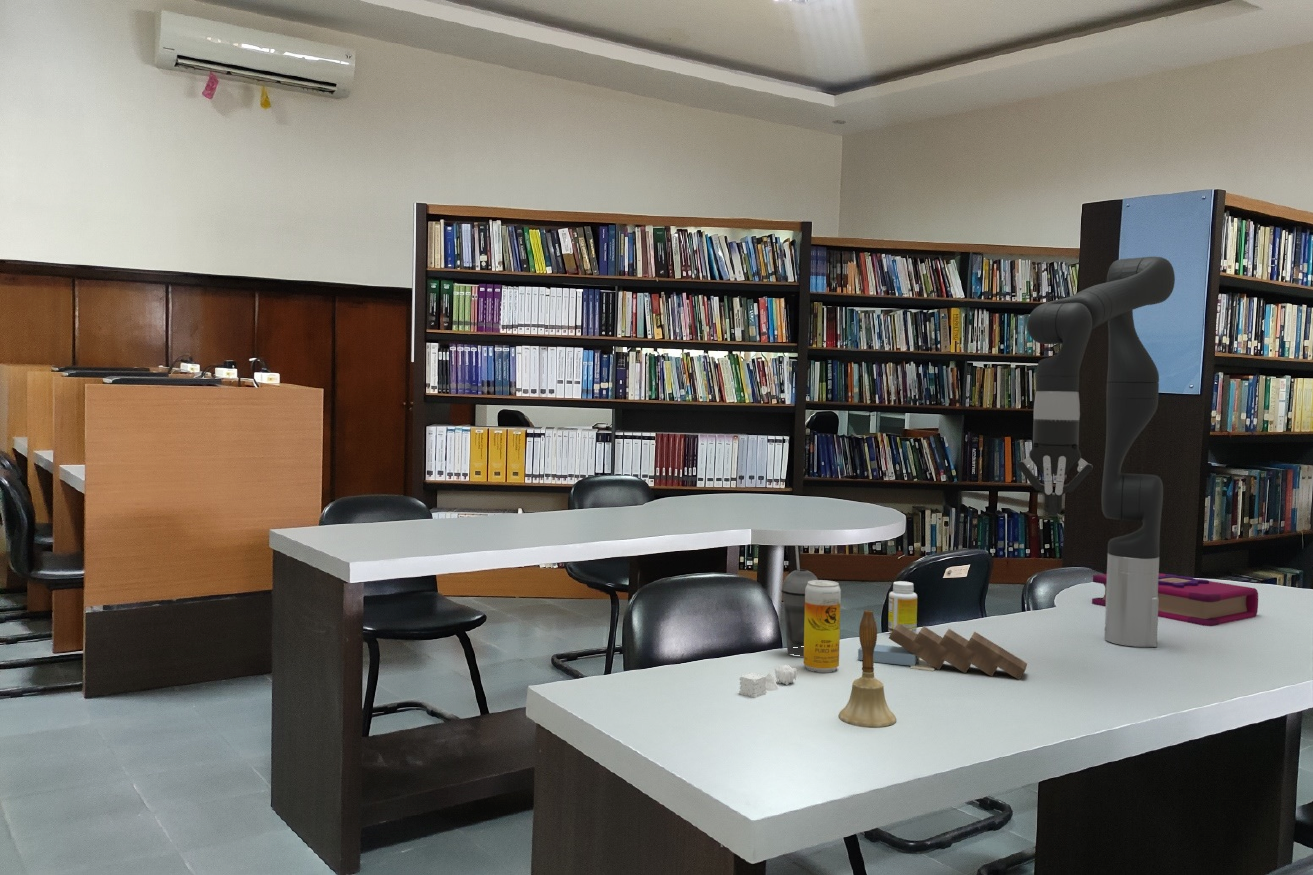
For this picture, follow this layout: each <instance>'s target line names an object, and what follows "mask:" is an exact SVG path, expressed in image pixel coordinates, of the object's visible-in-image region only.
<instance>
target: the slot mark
mask: <svg viewBox="0 0 1313 875" xmlns="http://www.w3.org/2000/svg"><path fill="white" fill-rule="evenodd" d="M910 669H915V670H922V671H923V670H924V671H929V672H934V671H935V669H936V668H935V667H934V666H932V665H930V664H929V663H927V662H926V661H924V660H922V659H921V658H920V660H919V661H918V662H917V664H916V665H915V666H910Z"/></svg>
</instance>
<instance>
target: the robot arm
mask: <svg viewBox="0 0 1313 875" xmlns="http://www.w3.org/2000/svg"><path fill="white" fill-rule="evenodd" d="M1175 280H1176V276H1175V270H1174V267H1173V265H1172V263H1171V262H1170V261H1169V260H1168V259H1166V258H1164V257H1162V256H1144V257H1134V258H1132V257H1131V258H1121V259H1117V260H1115V261H1113V262H1112V263H1111V265H1110V266H1109V268H1108V271H1107V276H1106V282H1103V283H1099V284H1094V285H1092V286H1090V287H1087V288H1085V289H1083V290H1080V291H1079V292H1076V293H1074V294H1073V295H1071V296H1068V297H1065V298H1064V297H1063V298H1059V299H1055V300H1052V301H1048V302H1045V303H1042V304H1039V305H1037V306H1036V307H1035V308H1034V309H1033V310H1032V311H1031V312H1030V314H1029V316H1028V318H1027V322H1026V329H1027V333H1028V336H1029V337H1030V338H1031V339H1032V340H1033V341H1034V342H1036V343H1038V344H1041V345H1061V347H1060V349H1059V351H1058V352H1057V354H1055V355H1053V356H1050V357H1046V358H1042V359H1041V360H1039V361H1038V363H1037V365H1036V375H1035V376H1036V378H1035V379H1036V381H1035V382H1036V385H1035V398H1034V403H1033V413H1032V414H1033V420H1032V421H1033V425H1032V447H1031V449H1030V451H1029V453H1028V454H1029V456H1028V457H1026V458H1024V459H1023V460H1021V461H1019V462H1018V463H1017V465H1016V466H1017V468H1018V469H1019V470H1020V472H1021V473H1022V474H1023V476H1024V477H1025V478H1026V479H1027V481H1028V482H1029V483H1030V485H1031V486H1032V487H1033V489H1035V491H1037V492H1041V493H1042V494H1043V495H1044V512H1045V513H1047V514H1048V516H1047V517H1058V514H1061V512H1062V510H1063V496H1064V494H1066V493H1072V492H1074V490H1075V489H1076V488H1077V487H1078V486H1079V485H1080V483H1082V482H1083V480H1084V479H1085V478H1086V477H1087V476H1088V475H1089V474H1090V473H1091V472H1092V471H1093V464H1091V463H1088V462H1087V461H1086V460H1085V459H1083V458H1082V453H1081V451H1080V449H1079V441H1080V417H1081V412H1080V411H1081V410H1080V409H1081V408H1080V407H1081V403H1080V393H1079V391H1080V390H1079V389H1080V369H1081V365H1082V362H1083V360H1084V354H1085V351H1086V349H1087V345H1088V343H1089V339H1090V337H1091V334H1092V330H1093V329H1095V328H1097V327H1099V326H1101V325H1102V324H1104V323H1106V322H1107V326H1108V355H1107V356H1108V360H1107V361H1108V363H1107V378H1106V395H1105V396H1106V398H1105V399H1106V400H1105V401H1106V430H1105V431H1106V432H1105V433H1106V435H1105V438H1106V440H1105V450H1104V451H1105V453H1104V460H1103V461H1104V462H1103V473H1102V482H1101V483H1102V484H1101V498H1100V499H1101V511H1102V514H1103V516H1104V517H1105V518H1106V519H1110V520H1117V521H1118V520H1120V521H1134V522H1142V526H1140V528H1138V529H1137V530H1135V531H1133V532H1131V533H1127V534H1125V535H1124V534H1123V535H1120V536H1117V537H1116V536H1115V537H1112V538H1111V539H1109V540H1108V542H1107V559H1106V560H1107V562H1106V574H1107V586H1106V607H1105V613H1104V614H1105V615H1104V616H1105V620H1104V621H1105V622H1104V625H1105V626H1104V640H1106V641H1107V642H1109V643H1113V644H1116V645H1122V646H1127V647H1136V648H1138V647H1140V648H1141V647H1142V648H1145V647H1148V648H1149V647H1154V648H1157V647H1158V628H1159V627H1158V623H1159V617H1158V601H1159V599H1158V576H1159V573H1160V572H1159V571H1160V570H1159V568H1160V536H1161V524H1162V523H1161V522H1162V513H1163V512H1162V510H1163V501H1164V484H1163V481H1162V479H1161V477H1160V476H1159V475H1156V474H1147V473H1146V474H1145V473H1144V474H1143V473H1127V472H1126V473H1124V472H1122V471H1121V469H1122V467H1123V466H1122V465H1123V462H1124V460H1125V457H1126V456H1127V453H1128V452H1129V450H1130V448H1132V445H1133V443H1134V442H1135V440H1136V439H1137V437H1139V435H1140V434H1141V433H1142V431H1144V429H1145V428H1146V426H1147V425H1148V424H1149V422H1150V421H1151V419H1153V416H1154V415H1155V414H1156V411H1157V409H1158V405H1159V394H1160V393H1159V390H1160V387H1159V386H1160V383H1159V382H1160V374H1159V370H1158V368H1157V366H1156V364H1155V362H1154V360H1153V358H1152V357H1151V355H1150V354H1149V352H1148V351H1147V349H1146V347H1145V346H1144V344H1143V343H1142V341H1141V340H1140V337H1139V335H1138V332H1137V330H1136V328H1135V321H1134V312H1133V311H1134V310H1136V309H1139V308H1142V307H1145V306H1153V305H1157V304H1160V303H1161V304H1162V303H1163V302H1165V301H1166V300H1167V299H1169V297H1170V296H1171V294H1172V293H1173V290H1174V288H1175ZM1032 462H1033V464H1034V465H1035V467H1036V468H1037V469H1038V471H1039V472H1040V473H1041V474H1043V482H1044V484H1043V483H1041V482H1040V481H1039V479H1038V477H1037V476H1036V475H1035V474H1034V473H1033V471H1032V469H1033V465H1032ZM1077 464H1078V466H1077ZM1076 466H1077V468H1076V469H1077V472H1078V473H1077V474H1076V475H1075V476H1074V478H1073V479H1072V480H1071V481H1070V482H1069V483H1068V484H1065V476H1066V475H1068V474H1069V473H1071V471H1072V470H1073V469H1074V467H1076ZM1053 475H1056V479H1055V480H1056V481H1055V490H1054V489H1053V488H1054V487H1053ZM1064 484H1065V485H1064ZM1053 490H1054V493H1053Z"/></svg>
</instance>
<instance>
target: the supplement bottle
mask: <svg viewBox="0 0 1313 875" xmlns="http://www.w3.org/2000/svg"><path fill="white" fill-rule="evenodd" d="M892 585H893V586H892V591H889V593H888V617H887V618H888V620H887V621H888V624H887V625H888V626H887V627H888V628H887V630H888V632H889V633H890V634H891V633H892V631H893V630H894V628H895V627H896V626H897V625H898V623H900V624H901V625H903V626H904V627H906V628H908V629H909V630H911V631H912V632H914V633H916V634H917V629H918V628H917V627H918V626H917V624H918V620H917V618H918V594H917V593H916V592H914V590H915V588H914V583H913V582H909V581H904V580H903V581H901V580H899V581H894V582H893V583H892Z"/></svg>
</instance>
